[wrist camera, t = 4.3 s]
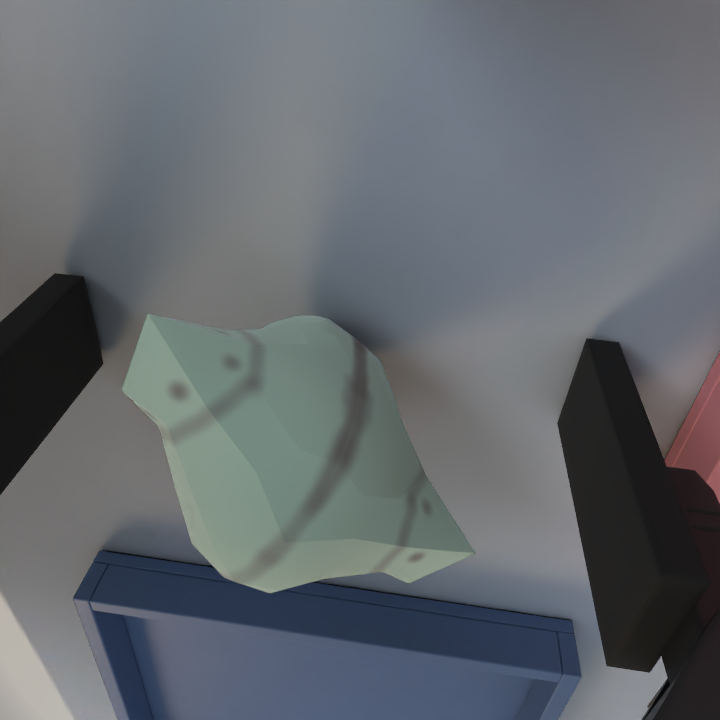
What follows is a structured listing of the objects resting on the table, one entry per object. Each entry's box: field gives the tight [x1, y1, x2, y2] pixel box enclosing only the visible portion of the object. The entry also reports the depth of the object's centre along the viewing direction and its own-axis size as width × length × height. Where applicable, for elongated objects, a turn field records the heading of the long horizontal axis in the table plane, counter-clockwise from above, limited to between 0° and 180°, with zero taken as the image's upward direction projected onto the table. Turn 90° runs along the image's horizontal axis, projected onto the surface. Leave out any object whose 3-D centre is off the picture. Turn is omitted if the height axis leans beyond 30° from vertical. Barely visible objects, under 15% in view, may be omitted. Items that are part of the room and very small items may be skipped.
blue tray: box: [73, 551, 582, 720], centre depth 26 cm, size 17×15×2 cm
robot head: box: [122, 314, 475, 593], centre depth 13 cm, size 8×4×7 cm, turn 48°
